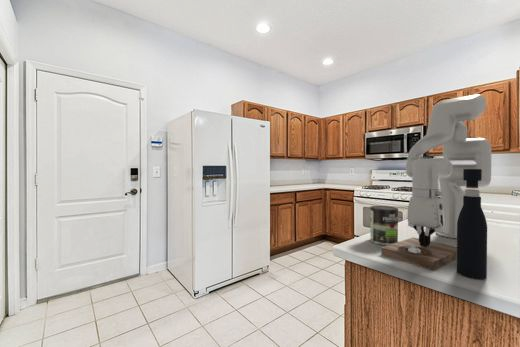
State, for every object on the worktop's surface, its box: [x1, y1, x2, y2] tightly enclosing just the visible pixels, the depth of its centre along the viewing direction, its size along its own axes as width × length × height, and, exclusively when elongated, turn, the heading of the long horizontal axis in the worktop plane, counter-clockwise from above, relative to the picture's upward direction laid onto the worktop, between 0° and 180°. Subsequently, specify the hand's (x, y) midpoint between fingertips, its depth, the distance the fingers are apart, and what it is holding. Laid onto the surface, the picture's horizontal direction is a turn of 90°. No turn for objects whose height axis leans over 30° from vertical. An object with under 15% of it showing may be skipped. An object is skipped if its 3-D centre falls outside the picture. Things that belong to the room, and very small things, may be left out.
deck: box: [380, 237, 457, 271], centre depth 84 cm, size 22×16×2 cm
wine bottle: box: [456, 169, 488, 280], centre depth 68 cm, size 6×6×30 cm
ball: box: [407, 246, 421, 254], centre depth 81 cm, size 4×4×4 cm
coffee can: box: [369, 205, 399, 246], centre depth 99 cm, size 10×10×14 cm
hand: (424, 245), depth 85 cm, fingers closed
